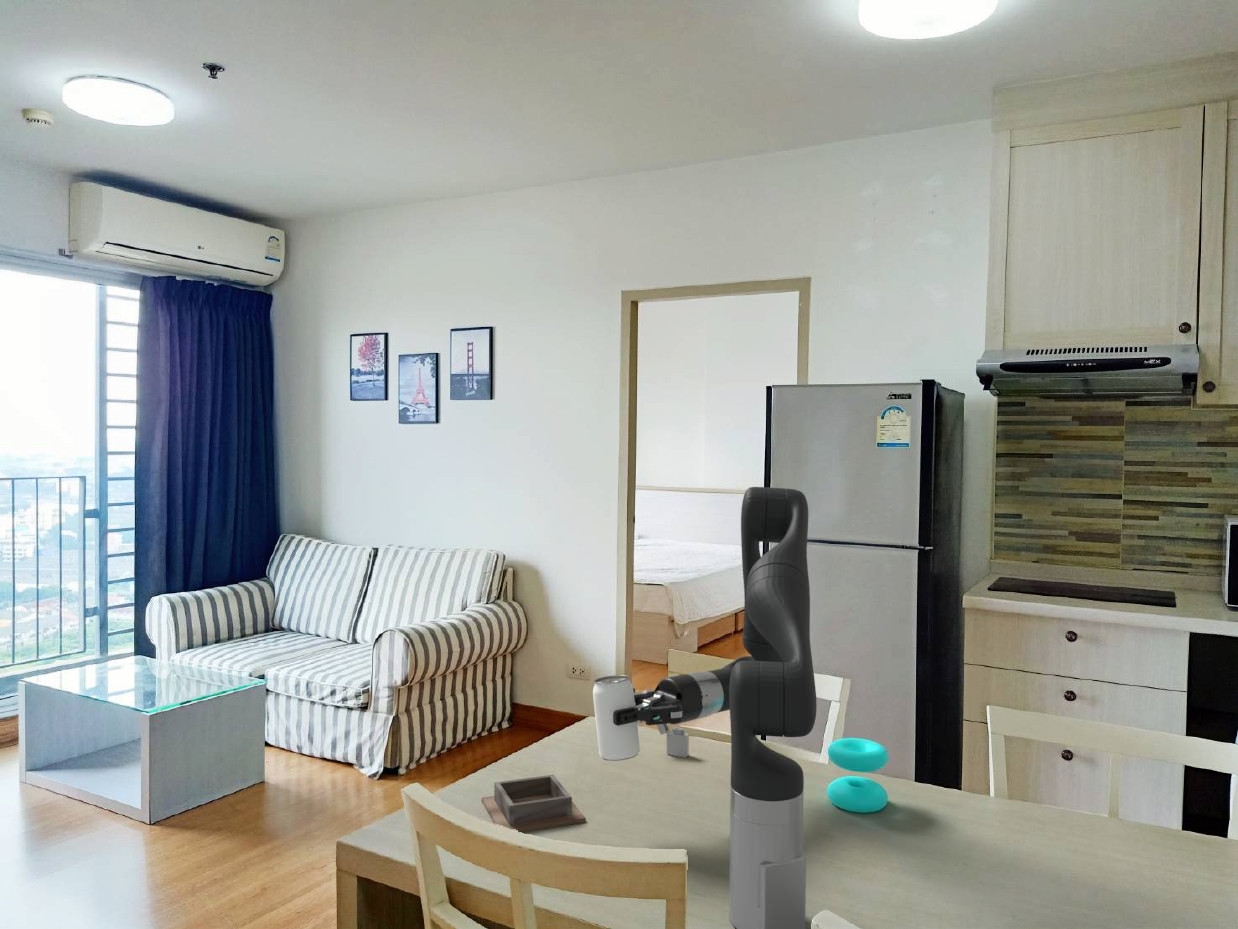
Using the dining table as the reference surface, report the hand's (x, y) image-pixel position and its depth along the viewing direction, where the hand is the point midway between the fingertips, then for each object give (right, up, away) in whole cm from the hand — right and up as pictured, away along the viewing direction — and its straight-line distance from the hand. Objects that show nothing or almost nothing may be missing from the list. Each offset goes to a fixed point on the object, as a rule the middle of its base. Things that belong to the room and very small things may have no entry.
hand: (606, 714), depth 136 cm
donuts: (+43, -19, +14) cm, 49 cm away
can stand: (-12, -19, +9) cm, 24 cm away
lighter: (+12, -19, +37) cm, 43 cm away
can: (+2, -7, +2) cm, 8 cm away
